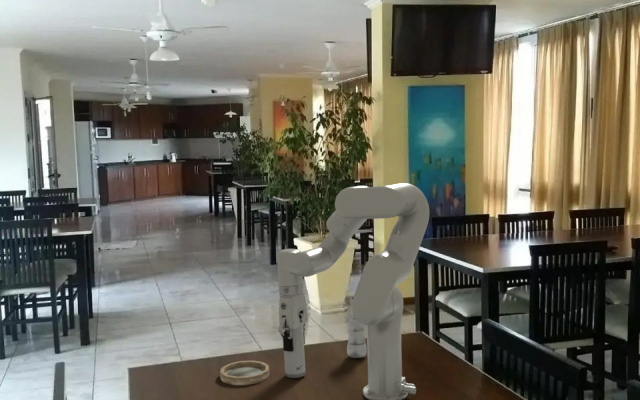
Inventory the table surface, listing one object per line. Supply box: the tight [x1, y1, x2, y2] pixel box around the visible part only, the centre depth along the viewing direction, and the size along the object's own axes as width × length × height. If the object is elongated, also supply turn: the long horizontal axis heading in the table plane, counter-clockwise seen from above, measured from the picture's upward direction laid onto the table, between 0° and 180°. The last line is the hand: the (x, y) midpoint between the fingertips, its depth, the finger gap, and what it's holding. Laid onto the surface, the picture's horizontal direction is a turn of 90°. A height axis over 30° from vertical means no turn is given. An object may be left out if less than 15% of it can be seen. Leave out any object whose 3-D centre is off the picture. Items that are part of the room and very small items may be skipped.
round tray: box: [219, 360, 270, 386], centre depth 192 cm, size 15×15×2 cm
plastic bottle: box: [346, 296, 368, 359], centre depth 205 cm, size 6×7×20 cm
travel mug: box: [283, 310, 306, 379], centre depth 189 cm, size 6×7×20 cm
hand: (294, 347), depth 189 cm, fingers closed on travel mug, 6 cm apart
